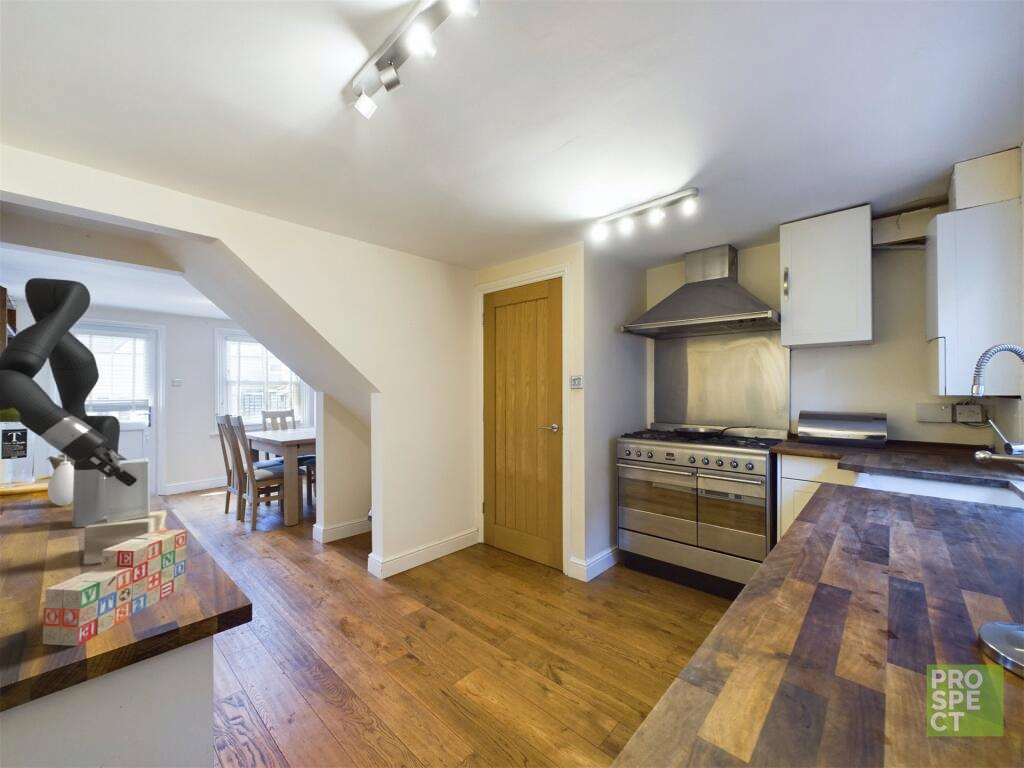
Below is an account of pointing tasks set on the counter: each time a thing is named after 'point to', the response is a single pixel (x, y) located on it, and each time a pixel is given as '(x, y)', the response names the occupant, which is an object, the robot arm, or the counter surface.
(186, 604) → the counter surface
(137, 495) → the skincare box
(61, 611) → the stack of blocks
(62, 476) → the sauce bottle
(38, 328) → the robot arm
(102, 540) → the riser block
